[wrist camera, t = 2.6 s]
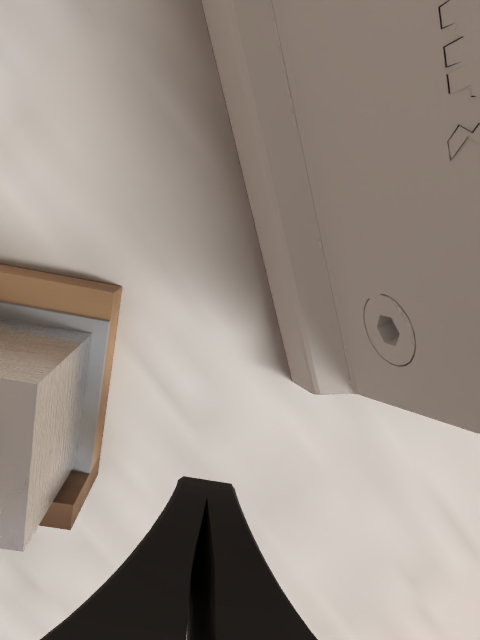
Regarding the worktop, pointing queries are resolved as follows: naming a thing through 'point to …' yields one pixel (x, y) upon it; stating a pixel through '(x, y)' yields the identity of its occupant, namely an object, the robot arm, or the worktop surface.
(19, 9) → the worktop surface
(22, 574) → the worktop surface
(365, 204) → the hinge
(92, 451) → the rail
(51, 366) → the metal cube with knob
